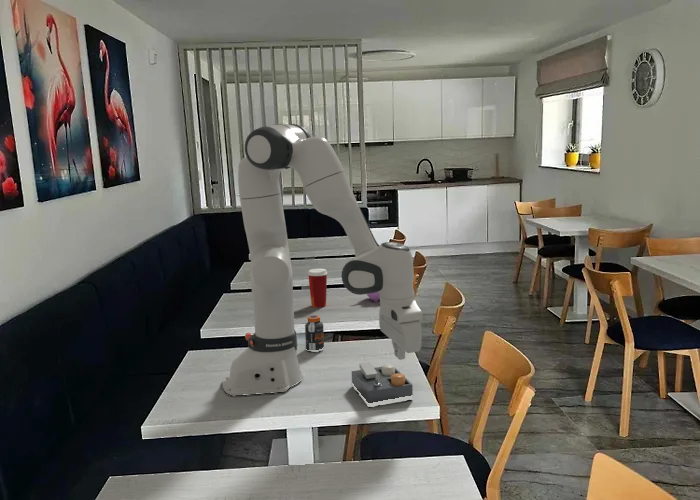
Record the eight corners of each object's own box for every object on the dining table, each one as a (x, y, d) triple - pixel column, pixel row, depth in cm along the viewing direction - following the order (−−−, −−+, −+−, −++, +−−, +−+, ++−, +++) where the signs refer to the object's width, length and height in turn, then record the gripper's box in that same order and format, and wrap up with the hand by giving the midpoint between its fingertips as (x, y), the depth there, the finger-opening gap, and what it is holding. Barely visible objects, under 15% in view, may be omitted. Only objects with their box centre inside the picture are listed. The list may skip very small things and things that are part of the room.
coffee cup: (332, 304, 241) (331, 269, 238) (321, 309, 234) (319, 273, 231) (316, 302, 245) (314, 267, 242) (304, 306, 238) (303, 271, 235)
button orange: (394, 394, 149) (394, 379, 148) (389, 388, 152) (389, 374, 151) (407, 392, 150) (407, 377, 149) (402, 386, 153) (401, 372, 152)
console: (368, 408, 146) (368, 380, 144) (352, 386, 159) (351, 360, 158) (412, 400, 149) (412, 373, 148) (392, 380, 162) (392, 355, 161)
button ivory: (384, 383, 155) (384, 369, 155) (380, 378, 159) (379, 365, 158) (397, 381, 156) (396, 367, 156) (392, 376, 160) (392, 363, 159)
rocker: (366, 378, 152) (366, 375, 152) (359, 367, 158) (359, 363, 157) (377, 377, 153) (377, 373, 153) (369, 365, 158) (369, 361, 158)
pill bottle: (317, 354, 184) (315, 320, 182) (302, 351, 187) (300, 317, 185) (327, 348, 189) (326, 315, 187) (313, 345, 192) (311, 312, 190)
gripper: (372, 297, 155) (374, 346, 158) (401, 318, 136) (403, 373, 139) (394, 294, 157) (396, 343, 160) (425, 314, 138) (427, 369, 140)
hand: (399, 357), depth 149 cm, fingers closed
